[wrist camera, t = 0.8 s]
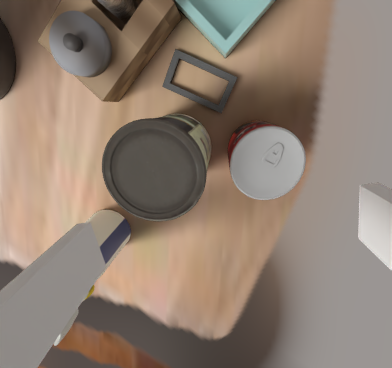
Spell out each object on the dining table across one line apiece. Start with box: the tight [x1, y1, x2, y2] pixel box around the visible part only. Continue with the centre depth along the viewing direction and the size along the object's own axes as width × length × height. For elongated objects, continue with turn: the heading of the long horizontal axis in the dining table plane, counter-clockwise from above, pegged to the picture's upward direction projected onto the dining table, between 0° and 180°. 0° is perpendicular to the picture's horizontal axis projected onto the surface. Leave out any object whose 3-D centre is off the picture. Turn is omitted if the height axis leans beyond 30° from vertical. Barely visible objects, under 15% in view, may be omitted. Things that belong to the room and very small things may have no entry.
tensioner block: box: [38, 0, 181, 102], centre depth 28 cm, size 14×10×8 cm
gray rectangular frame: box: [162, 49, 237, 113], centre depth 33 cm, size 9×5×1 cm, turn 67°
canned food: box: [228, 121, 306, 200], centre depth 30 cm, size 8×8×11 cm
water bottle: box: [54, 210, 131, 346], centre depth 30 cm, size 8×9×25 cm
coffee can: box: [102, 114, 212, 221], centre depth 30 cm, size 10×10×14 cm
